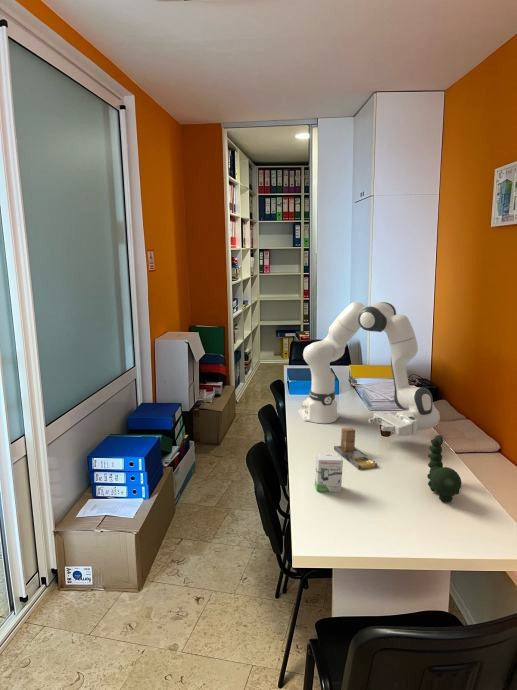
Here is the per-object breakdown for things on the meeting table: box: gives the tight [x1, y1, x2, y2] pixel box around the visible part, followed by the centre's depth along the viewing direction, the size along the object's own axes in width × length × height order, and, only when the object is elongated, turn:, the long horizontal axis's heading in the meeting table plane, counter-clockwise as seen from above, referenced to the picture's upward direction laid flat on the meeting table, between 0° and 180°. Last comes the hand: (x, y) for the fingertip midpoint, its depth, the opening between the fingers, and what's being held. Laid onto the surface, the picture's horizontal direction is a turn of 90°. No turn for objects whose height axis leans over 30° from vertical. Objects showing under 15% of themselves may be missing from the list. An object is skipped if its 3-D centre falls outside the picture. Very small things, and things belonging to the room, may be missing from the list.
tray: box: [333, 444, 378, 470], centre depth 199 cm, size 20×8×2 cm, turn 19°
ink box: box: [314, 453, 344, 493], centre depth 172 cm, size 9×5×12 cm, turn 91°
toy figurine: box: [426, 434, 462, 503], centre depth 170 cm, size 9×19×25 cm
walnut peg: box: [340, 426, 356, 452], centre depth 204 cm, size 4×4×10 cm
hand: (375, 424), depth 206 cm, fingers open, 8 cm apart
